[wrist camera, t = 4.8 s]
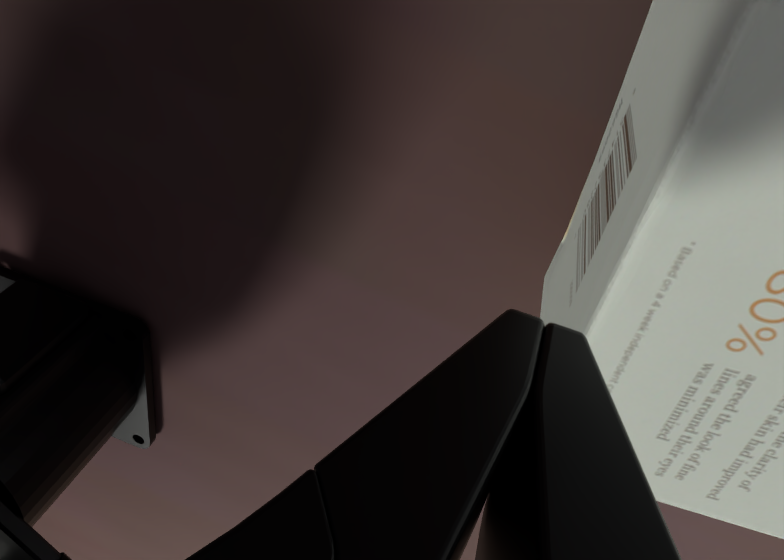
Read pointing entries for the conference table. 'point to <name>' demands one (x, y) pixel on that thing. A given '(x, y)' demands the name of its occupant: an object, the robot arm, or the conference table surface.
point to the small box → (691, 258)
